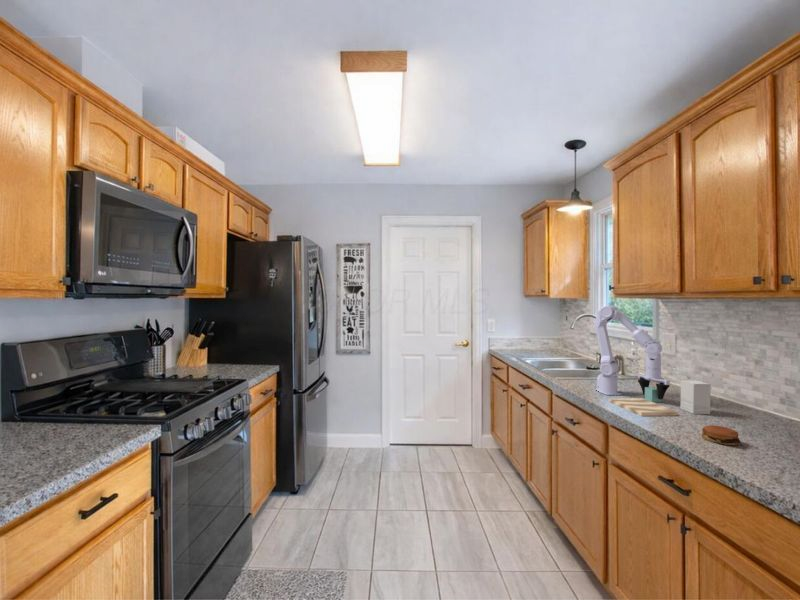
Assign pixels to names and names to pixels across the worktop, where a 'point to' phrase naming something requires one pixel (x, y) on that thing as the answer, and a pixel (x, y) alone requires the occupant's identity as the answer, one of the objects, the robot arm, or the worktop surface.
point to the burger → (720, 435)
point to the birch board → (644, 407)
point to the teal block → (651, 394)
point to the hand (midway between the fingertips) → (652, 396)
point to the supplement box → (695, 396)
